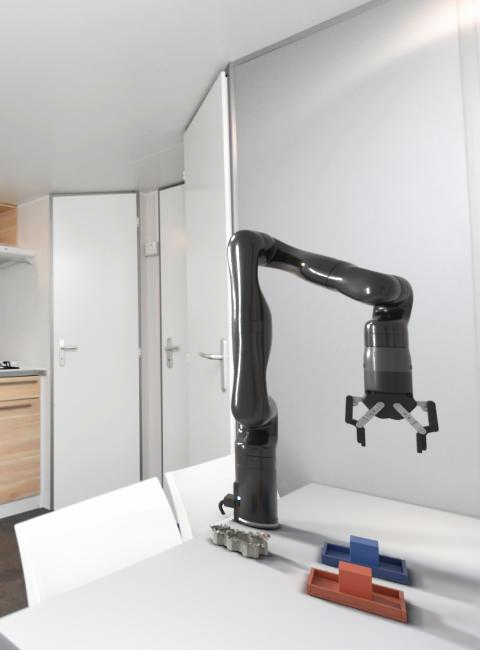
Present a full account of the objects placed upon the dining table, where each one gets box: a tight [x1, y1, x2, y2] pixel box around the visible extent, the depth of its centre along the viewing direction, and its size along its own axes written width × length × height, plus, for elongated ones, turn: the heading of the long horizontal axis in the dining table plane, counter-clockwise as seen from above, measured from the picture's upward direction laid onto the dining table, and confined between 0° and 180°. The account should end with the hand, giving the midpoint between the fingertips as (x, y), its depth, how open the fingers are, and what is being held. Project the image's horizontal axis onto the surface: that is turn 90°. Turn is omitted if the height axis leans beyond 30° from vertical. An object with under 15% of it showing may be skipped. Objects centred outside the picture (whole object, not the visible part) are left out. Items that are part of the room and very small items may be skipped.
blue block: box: [349, 534, 380, 568], centre depth 97 cm, size 4×4×4 cm
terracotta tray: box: [306, 566, 408, 623], centre depth 84 cm, size 13×9×2 cm
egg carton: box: [208, 523, 271, 559], centre depth 105 cm, size 11×8×4 cm
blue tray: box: [320, 541, 409, 586], centre depth 97 cm, size 13×9×2 cm
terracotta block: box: [338, 561, 373, 601], centre depth 84 cm, size 4×4×4 cm
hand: (390, 449), depth 97 cm, fingers open, 8 cm apart
